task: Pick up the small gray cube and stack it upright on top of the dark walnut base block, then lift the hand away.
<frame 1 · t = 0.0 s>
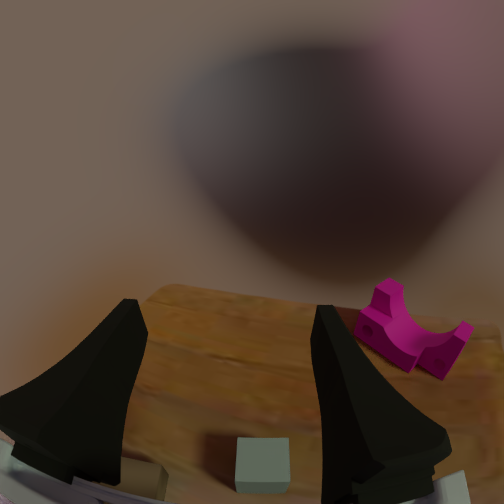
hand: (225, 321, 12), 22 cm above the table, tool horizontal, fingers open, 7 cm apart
toy block: (403, 352, 37), on the table
gray cube: (261, 474, 23), on the table
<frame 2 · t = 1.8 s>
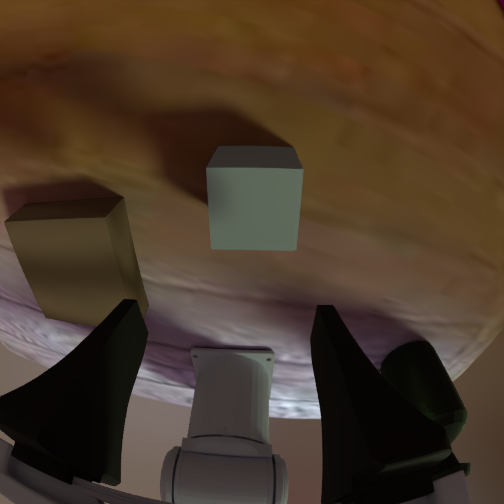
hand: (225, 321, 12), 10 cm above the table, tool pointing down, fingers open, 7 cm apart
base block: (83, 256, 22), on the table
potion bottle: (406, 357, 29), on the table
gray cube: (255, 180, 19), on the table
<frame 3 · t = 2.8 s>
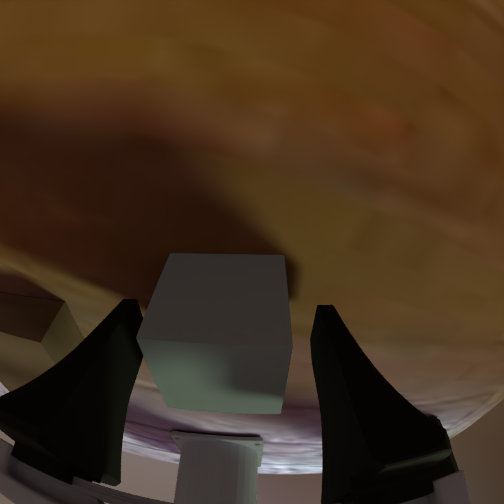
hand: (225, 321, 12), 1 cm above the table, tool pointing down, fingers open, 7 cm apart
base block: (40, 346, 17), on the table
potion bottle: (409, 428, 23), on the table
gray cube: (228, 295, 13), on the table
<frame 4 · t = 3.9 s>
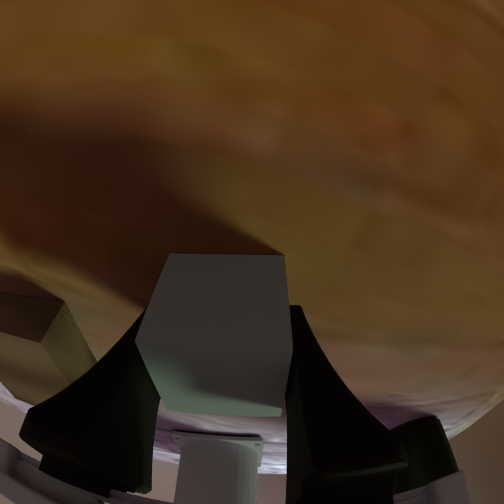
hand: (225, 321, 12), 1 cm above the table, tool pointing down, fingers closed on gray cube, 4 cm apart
base block: (40, 346, 17), on the table
potion bottle: (409, 428, 23), on the table
gray cube: (228, 297, 13), on the table, touching gripper
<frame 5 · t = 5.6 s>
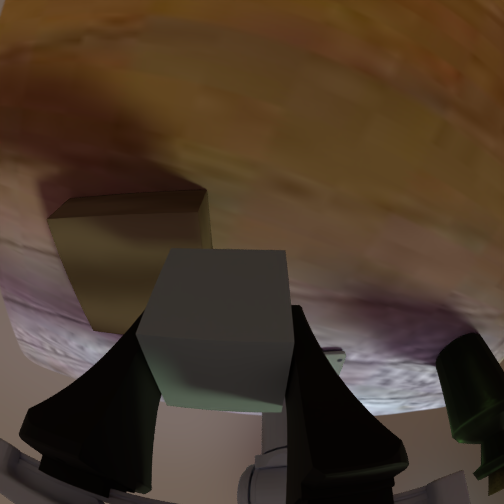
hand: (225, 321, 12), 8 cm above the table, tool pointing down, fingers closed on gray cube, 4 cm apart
base block: (144, 258, 21), on the table
potion bottle: (458, 349, 27), on the table
gray cube: (229, 292, 13), point 7 cm above the table, touching gripper
when the fingers open (6 cm above the table, at t = 7.4 s): gray cube drops 1 cm, resting on base block.
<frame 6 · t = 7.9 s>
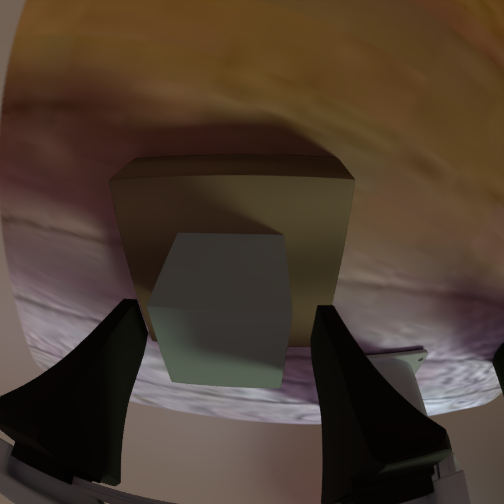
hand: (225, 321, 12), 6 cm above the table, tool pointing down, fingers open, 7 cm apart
base block: (235, 244, 16), on the table
gray cube: (231, 275, 14), point 3 cm above the table, touching base block
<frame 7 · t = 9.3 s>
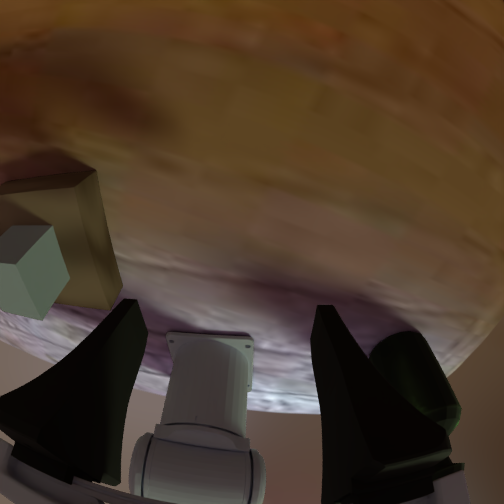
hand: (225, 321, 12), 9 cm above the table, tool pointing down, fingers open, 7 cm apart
base block: (59, 233, 21), on the table
potion bottle: (396, 348, 28), on the table
gray cube: (39, 251, 18), point 3 cm above the table, touching base block
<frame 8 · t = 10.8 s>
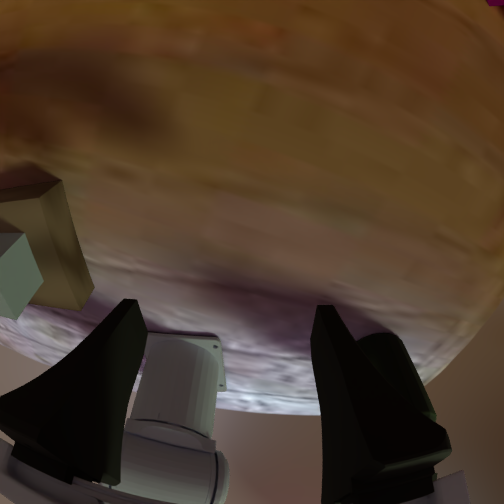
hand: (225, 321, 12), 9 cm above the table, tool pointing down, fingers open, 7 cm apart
base block: (35, 239, 21), on the table
potion bottle: (371, 350, 28), on the table
gray cube: (16, 257, 18), point 3 cm above the table, touching base block
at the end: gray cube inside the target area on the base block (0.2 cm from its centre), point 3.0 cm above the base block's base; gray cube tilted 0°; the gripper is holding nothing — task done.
